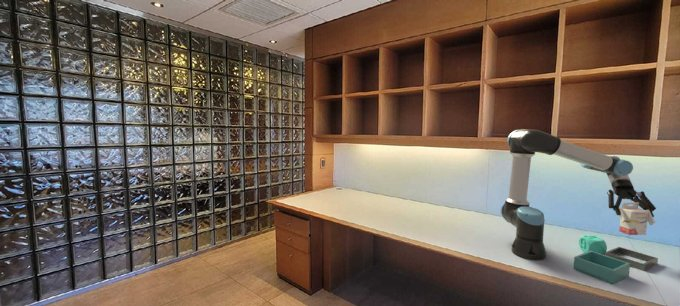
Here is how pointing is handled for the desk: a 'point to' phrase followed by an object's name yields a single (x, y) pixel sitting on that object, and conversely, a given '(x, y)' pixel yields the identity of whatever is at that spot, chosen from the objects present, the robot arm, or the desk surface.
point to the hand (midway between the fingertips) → (638, 222)
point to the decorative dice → (592, 244)
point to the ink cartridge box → (634, 219)
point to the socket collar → (641, 266)
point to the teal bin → (602, 267)
